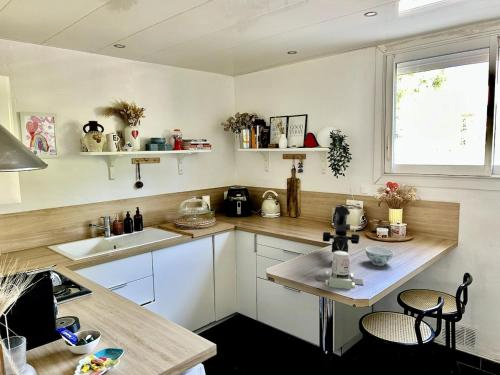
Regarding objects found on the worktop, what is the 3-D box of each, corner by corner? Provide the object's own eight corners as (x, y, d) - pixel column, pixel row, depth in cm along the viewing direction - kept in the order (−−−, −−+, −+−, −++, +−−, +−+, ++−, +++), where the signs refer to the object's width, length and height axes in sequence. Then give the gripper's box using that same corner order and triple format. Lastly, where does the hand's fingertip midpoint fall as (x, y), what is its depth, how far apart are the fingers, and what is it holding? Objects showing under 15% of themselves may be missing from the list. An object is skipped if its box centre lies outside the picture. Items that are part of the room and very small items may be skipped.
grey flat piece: (317, 272, 195) (318, 264, 194) (361, 276, 190) (361, 268, 190) (316, 285, 177) (316, 277, 176) (364, 290, 172) (365, 282, 172)
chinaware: (359, 262, 211) (360, 249, 210) (373, 257, 221) (374, 245, 220) (383, 270, 200) (384, 256, 199) (397, 264, 209) (398, 251, 208)
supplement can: (335, 278, 187) (337, 249, 185) (351, 282, 182) (353, 252, 180) (328, 283, 180) (330, 253, 178) (344, 287, 175) (346, 256, 173)
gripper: (323, 217, 197) (322, 242, 187) (360, 219, 193) (360, 245, 184) (323, 228, 205) (321, 253, 196) (358, 230, 202) (358, 256, 192)
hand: (340, 252), depth 192 cm, fingers closed
